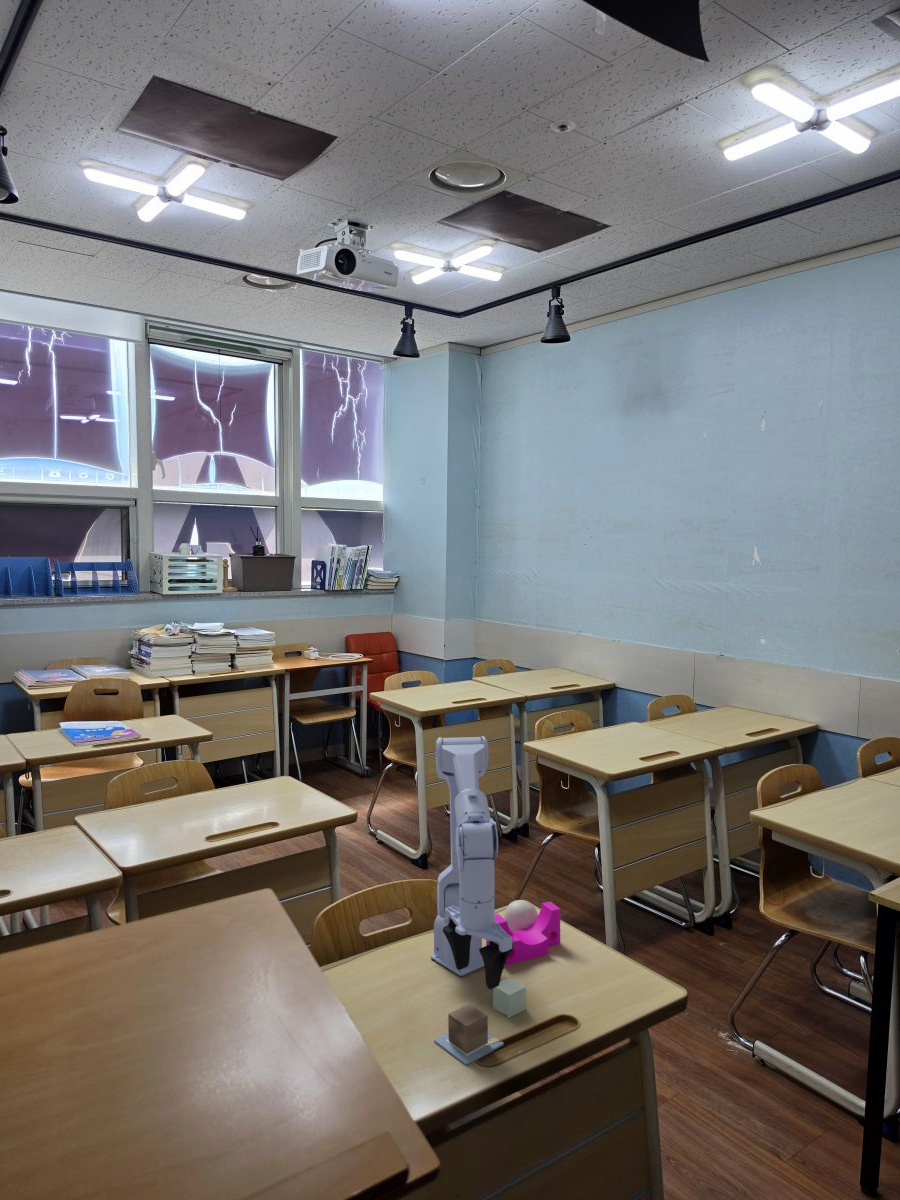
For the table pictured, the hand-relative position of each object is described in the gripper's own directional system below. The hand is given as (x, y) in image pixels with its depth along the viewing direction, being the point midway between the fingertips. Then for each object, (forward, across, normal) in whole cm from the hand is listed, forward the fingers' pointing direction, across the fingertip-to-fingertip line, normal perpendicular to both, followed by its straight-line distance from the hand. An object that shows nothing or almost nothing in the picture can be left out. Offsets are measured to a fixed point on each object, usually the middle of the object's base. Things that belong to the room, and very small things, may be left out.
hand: (477, 976), depth 129 cm
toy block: (+10, -15, +26) cm, 31 cm away
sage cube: (+10, -2, +9) cm, 14 cm away
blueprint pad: (+10, +1, -3) cm, 10 cm away
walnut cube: (+9, +1, -3) cm, 10 cm away
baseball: (+10, -20, +30) cm, 38 cm away
